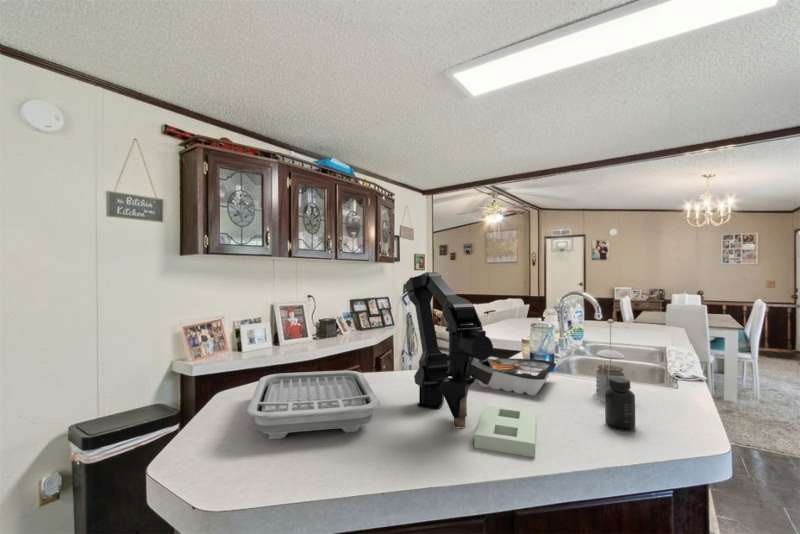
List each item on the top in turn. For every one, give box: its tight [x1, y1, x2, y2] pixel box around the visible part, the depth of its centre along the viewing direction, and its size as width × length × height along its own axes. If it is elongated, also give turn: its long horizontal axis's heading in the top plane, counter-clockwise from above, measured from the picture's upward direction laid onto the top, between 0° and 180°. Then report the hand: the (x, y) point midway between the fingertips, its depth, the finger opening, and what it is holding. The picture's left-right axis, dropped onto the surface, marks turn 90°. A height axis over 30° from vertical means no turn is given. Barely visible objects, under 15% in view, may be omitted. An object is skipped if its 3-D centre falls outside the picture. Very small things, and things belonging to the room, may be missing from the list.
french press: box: [592, 318, 626, 403], centre depth 119 cm, size 10×12×25 cm
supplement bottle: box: [604, 378, 636, 432], centre depth 99 cm, size 7×7×12 cm
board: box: [473, 404, 537, 458], centre depth 93 cm, size 20×13×3 cm, turn 160°
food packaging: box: [477, 355, 557, 396], centre depth 134 cm, size 25×8×23 cm
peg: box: [453, 394, 468, 429], centre depth 98 cm, size 4×4×10 cm
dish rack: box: [246, 370, 380, 440], centre depth 105 cm, size 32×37×8 cm
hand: (459, 411), depth 98 cm, fingers open, 8 cm apart
